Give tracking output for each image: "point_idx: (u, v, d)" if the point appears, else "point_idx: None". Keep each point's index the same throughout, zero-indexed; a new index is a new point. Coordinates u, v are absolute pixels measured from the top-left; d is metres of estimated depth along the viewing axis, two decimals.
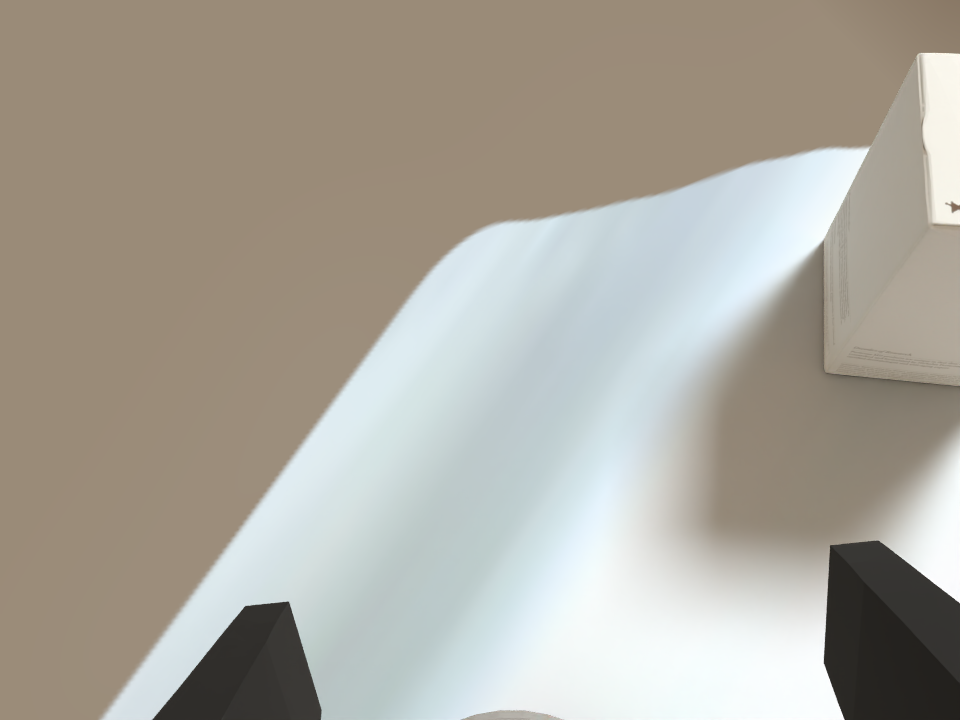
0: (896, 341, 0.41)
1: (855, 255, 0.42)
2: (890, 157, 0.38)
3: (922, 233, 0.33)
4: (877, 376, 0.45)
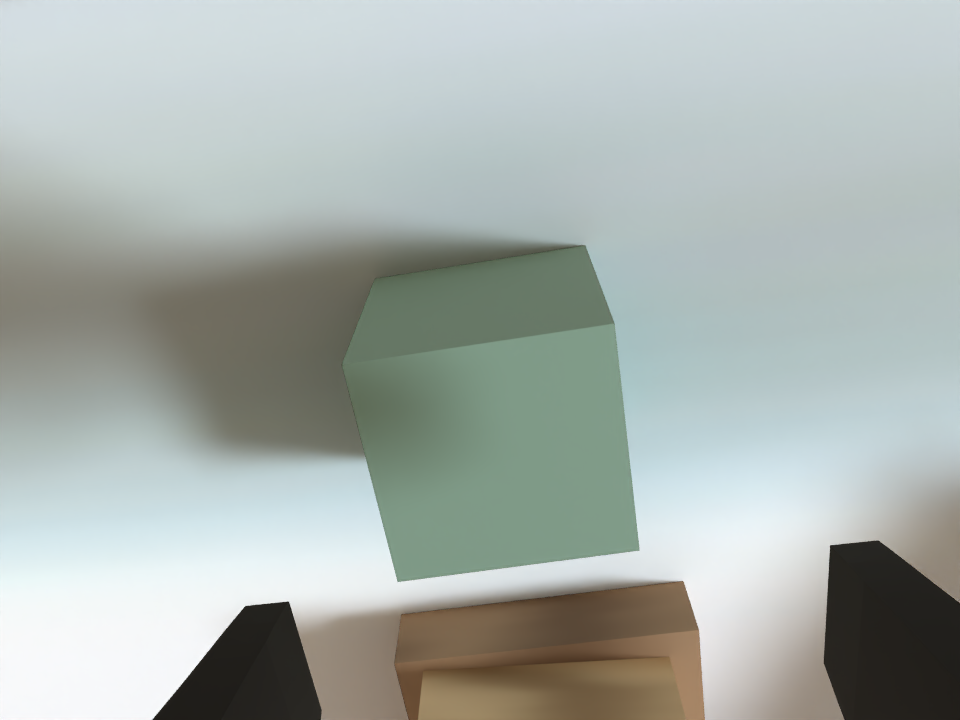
0: None
1: None
2: None
3: None
4: None
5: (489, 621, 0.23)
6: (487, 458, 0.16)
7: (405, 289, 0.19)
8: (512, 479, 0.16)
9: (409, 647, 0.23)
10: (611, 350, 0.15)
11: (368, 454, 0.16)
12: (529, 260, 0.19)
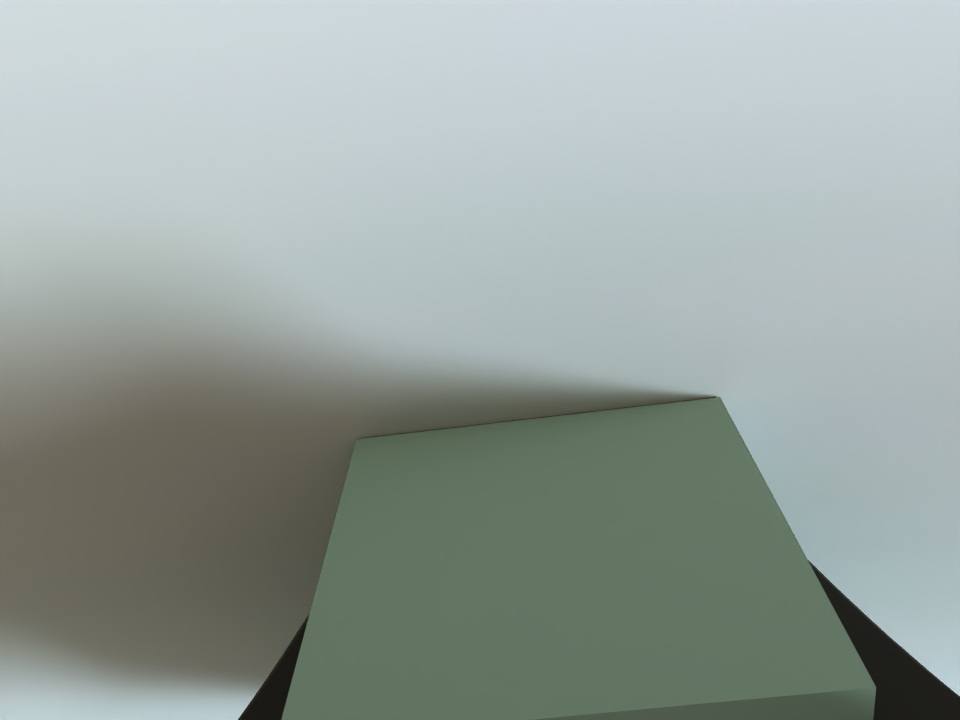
0: None
1: None
2: None
3: None
4: None
5: None
6: None
7: (409, 482, 0.10)
8: None
9: None
10: None
11: None
12: (627, 429, 0.11)
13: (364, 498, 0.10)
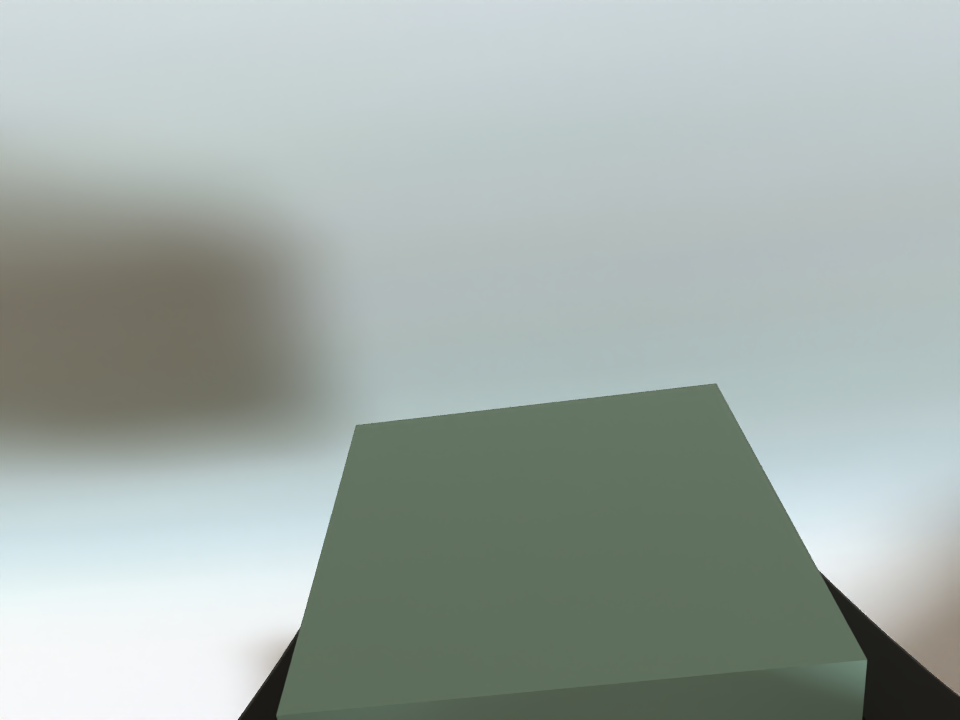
0: None
1: None
2: None
3: None
4: None
5: None
6: None
7: (408, 466, 0.11)
8: None
9: None
10: (850, 704, 0.07)
11: None
12: (624, 414, 0.11)
13: (364, 482, 0.10)
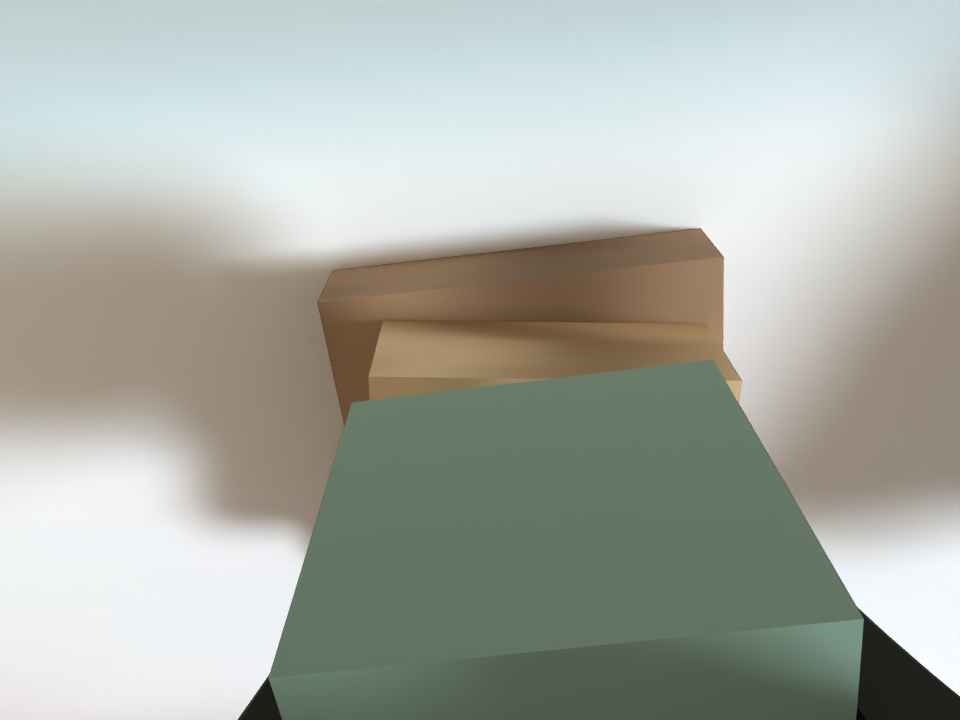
0: None
1: None
2: None
3: None
4: None
5: (446, 267, 0.18)
6: None
7: (403, 440, 0.11)
8: None
9: (339, 290, 0.17)
10: (847, 666, 0.07)
11: None
12: (621, 389, 0.11)
13: (359, 456, 0.10)
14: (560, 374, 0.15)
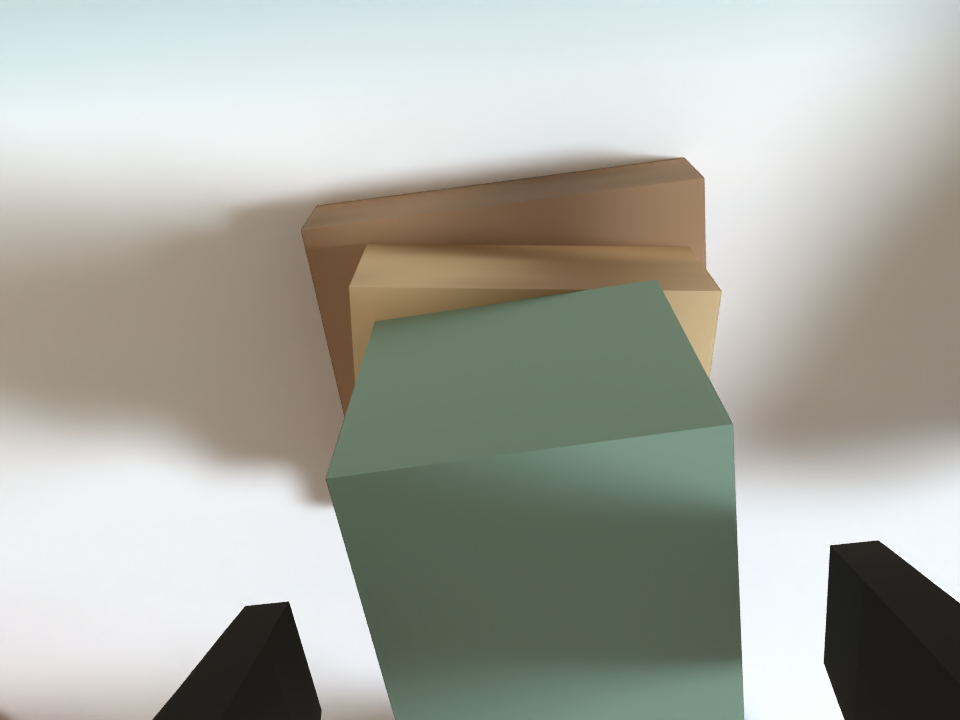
0: None
1: None
2: None
3: None
4: None
5: (430, 197, 0.18)
6: (536, 604, 0.11)
7: (416, 343, 0.14)
8: (571, 631, 0.11)
9: (323, 219, 0.17)
10: (725, 461, 0.10)
11: (365, 598, 0.11)
12: (583, 302, 0.14)
13: (382, 354, 0.14)
14: (541, 285, 0.15)
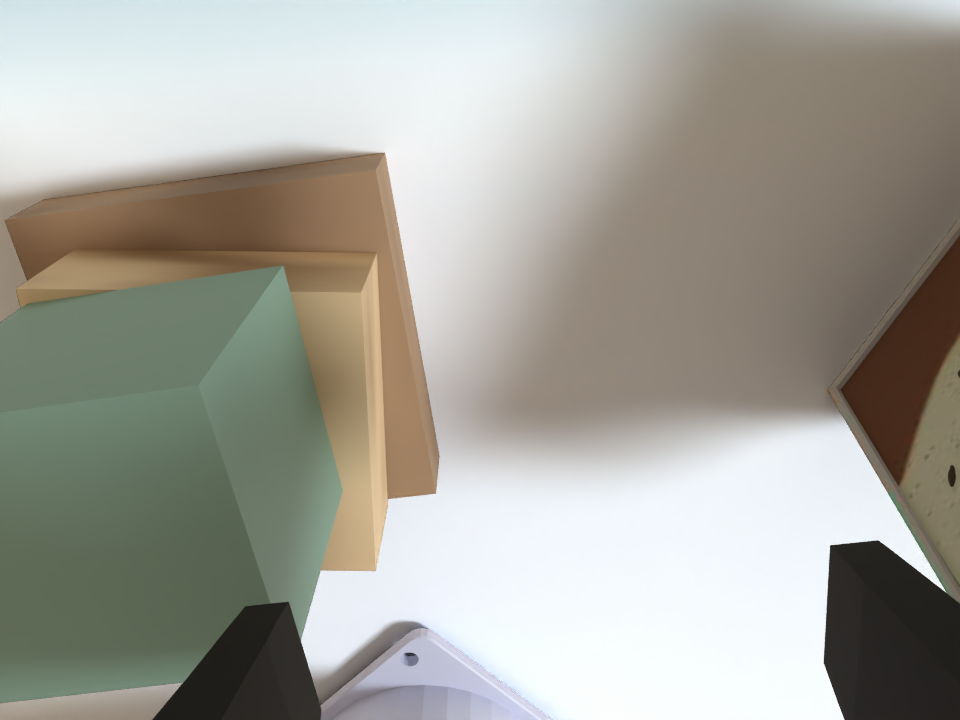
0: None
1: None
2: None
3: None
4: None
5: (141, 191, 0.19)
6: (69, 555, 0.12)
7: (37, 321, 0.15)
8: (108, 581, 0.12)
9: (33, 211, 0.18)
10: (202, 420, 0.11)
11: None
12: (204, 285, 0.15)
13: (1, 331, 0.15)
14: None
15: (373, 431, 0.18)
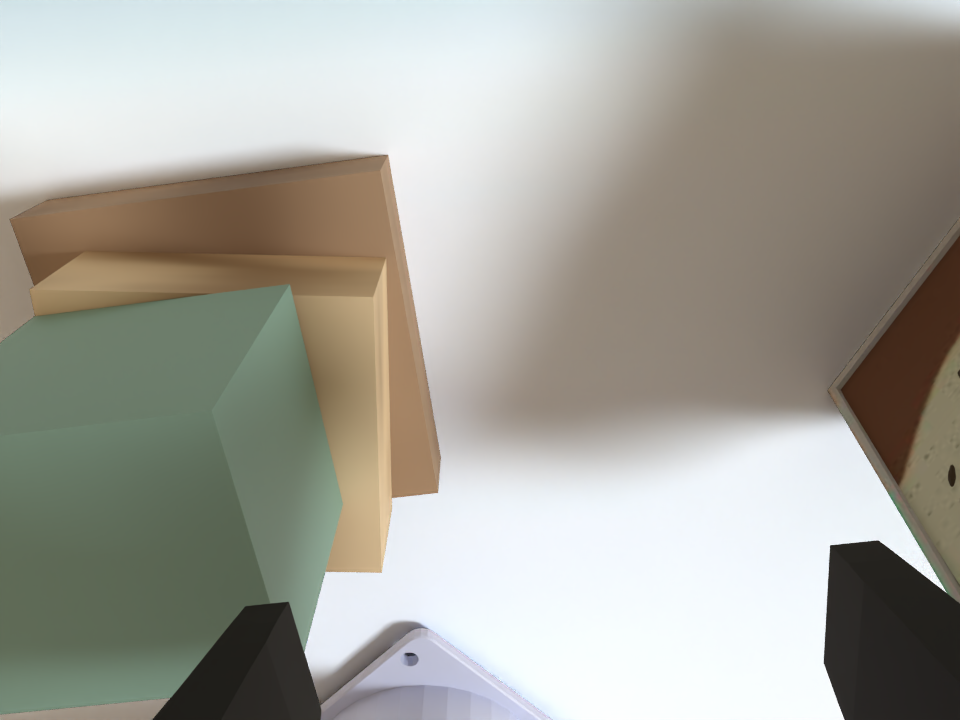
0: None
1: None
2: None
3: None
4: None
5: (146, 191, 0.19)
6: (77, 571, 0.12)
7: (46, 336, 0.15)
8: (116, 597, 0.13)
9: (37, 210, 0.18)
10: (214, 444, 0.11)
11: None
12: (212, 303, 0.15)
13: (10, 345, 0.15)
14: (210, 290, 0.16)
15: (381, 434, 0.18)
